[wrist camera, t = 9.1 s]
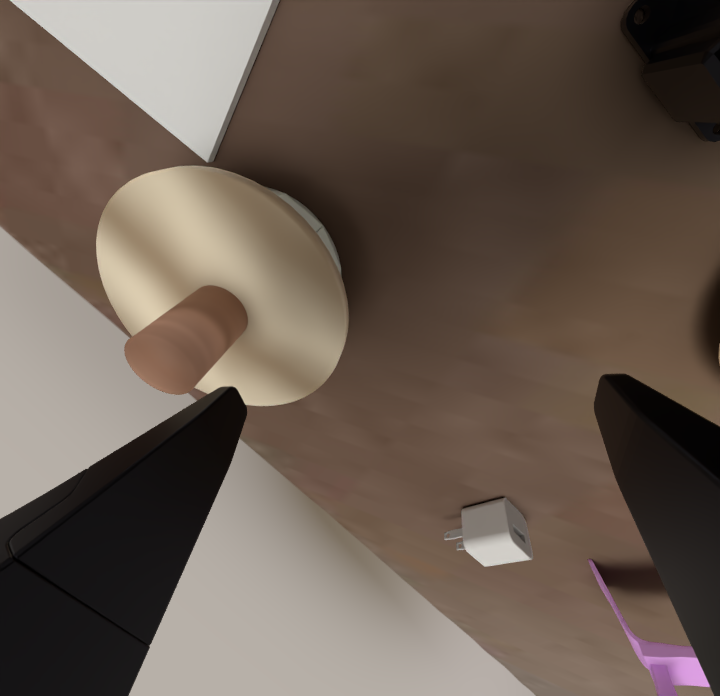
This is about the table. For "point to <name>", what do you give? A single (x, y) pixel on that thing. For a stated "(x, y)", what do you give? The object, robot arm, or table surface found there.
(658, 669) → the toy chair
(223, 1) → the mat
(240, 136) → the table surface
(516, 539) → the usb wall charger
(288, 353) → the lid
